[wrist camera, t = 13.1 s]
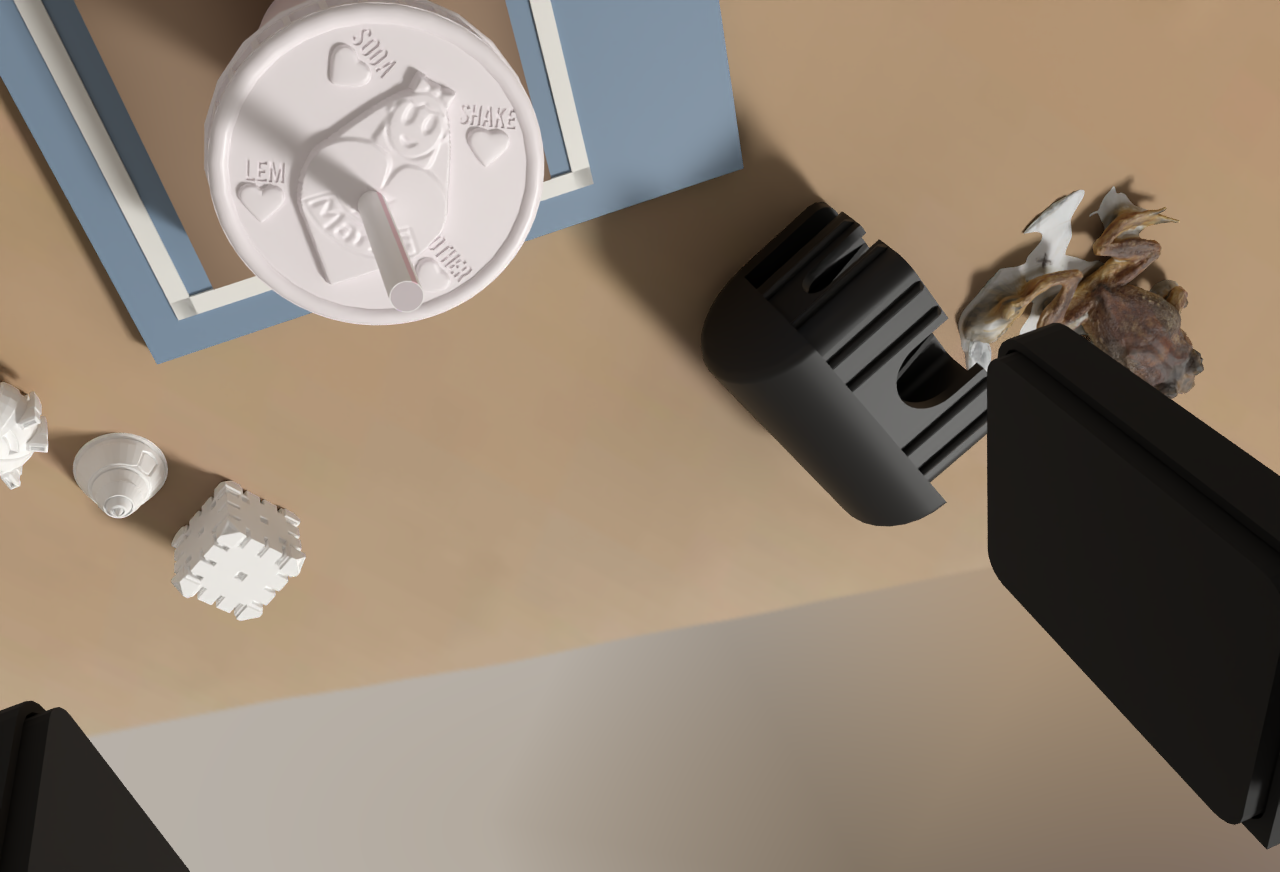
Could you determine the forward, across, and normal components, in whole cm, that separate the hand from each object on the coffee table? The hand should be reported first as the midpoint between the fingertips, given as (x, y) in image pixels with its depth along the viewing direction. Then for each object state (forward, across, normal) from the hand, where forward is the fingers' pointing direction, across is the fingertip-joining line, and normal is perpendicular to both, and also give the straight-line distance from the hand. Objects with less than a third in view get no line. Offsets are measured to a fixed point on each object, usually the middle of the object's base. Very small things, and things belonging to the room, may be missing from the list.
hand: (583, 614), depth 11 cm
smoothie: (+23, 0, 0) cm, 23 cm away
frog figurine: (+27, -26, +19) cm, 43 cm away
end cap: (+27, -14, +16) cm, 34 cm away
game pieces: (+27, +11, +12) cm, 31 cm away
